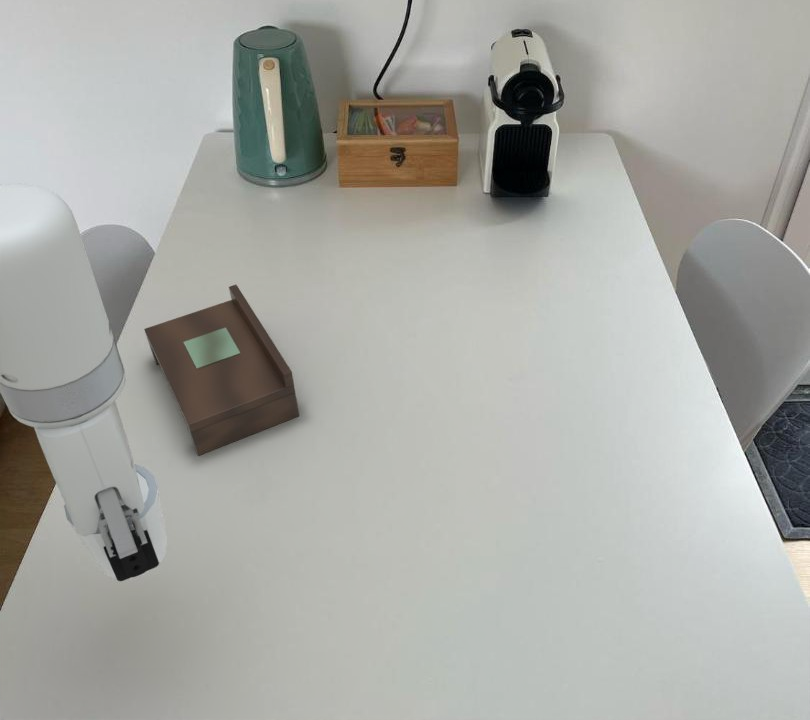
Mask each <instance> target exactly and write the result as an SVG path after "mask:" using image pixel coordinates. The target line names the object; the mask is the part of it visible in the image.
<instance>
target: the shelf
mask: <svg viewBox="0 0 810 720" xmlns="http://www.w3.org/2000/svg"><path fill="white" fill-rule="evenodd" d="M228 291H229V294H230V295H229V296H230V300H226V301H224V302H222V303H218V304H215V305H212V306H209V307H205V308H203V309H199V310H197V311H193V312H190V313H187V314H185V315H182V316H179V317H176V318H173V319H170V320H166V321H164V322H161V323H157V324H155V325H152V326H149V327H146V328H144V333H145V336H146V339H147V342H148V345H149V349H150V351H151V355H152V357H153V360H154V363H155V365H159V367H160V369H161V371H162V373H163V375H164V378H165V379H166V382H167V384H168V387H169V388H170V390H171V393H172V395H173V397H174V399H175V402H176V403H177V406H178V408H179V410H180V412H181V415H182V416H183V419H184V421H185V423H186V425H187V429H188V432H189V435H190V437H191V441H192V444H193V447H194V450H195V452H196V455H197V456H202V455H203V454H206V453H208V452H211V451H214V450H217V449H219V448H221V447H224V446H226V445H229V444H232V443H234V442H237V441H239V440H242V439H245V438H247V437H249V436H252V435H255V434H258V433H260V432H262V431H265V430H267V429H269V428H272V427H275V426H278V425H280V424H283V423H285V422H287V421H290V420H293V419H295V418H298V417H300V411H299V406H298V400H297V399H298V398H297V394H296V388H295V382H294V376H293V371H292V370H291V368H290V366H289V365H288V364H287V362H286V360H285V359H284V357H283V356H282V354H281V353H280V351H279V349H278V348H277V346H276V344H275V343H274V342H273V339H272V338H271V336H270V335H269V333H268V331H267V330H266V329H265V327H264V325H263V324H262V321H260V319H259V318H258V316H257V315H256V313H255V311H254V310H253V308H252V306H251V305H250V303H249V302H248V300H247V299H246V298H245V296H244V294H243V292H242V291H241V289H240V288H239V286H238V284H233V285H230V286H228Z"/></svg>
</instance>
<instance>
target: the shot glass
mask: <svg viewBox="0 0 810 720" xmlns="http://www.w3.org/2000/svg"><path fill="white" fill-rule="evenodd" d="M134 465H135V469H136V472H137V476H138V481H139V485H140V489H141V493H142V497H143V502H144V506H145V507H144V509H143V511H142V513H141V514H140V515H139V514H138V513H137V514H138V517H139V520H140V523H141V525H142V528H143V531H145V530H147V531H148V534H149V537H150V539H151V542H152V545H153V548H154V550H155V553H156V556H157V558H158V561H159V564H160V563H161V562H162V560H163V559H164V557H165V556H166V553H167V548H168V543H169V542H168V537H167V531H166V526H165V525H166V524H165V520H164V514H163V509H162V503H161V498H160V492H159V487H158V484H157V481H156V478H155V475H154V474H153V473H151V472H150V471H149V470H148V469H147V468H146V467H145V466H142V465H139V464H135V463H134ZM119 501H120V504H121V506H122V505H125V504H123V501H121V500H119ZM63 508H64V513H65V518H66V520H67V522H68V524H69V525H70V526H71V528H72V529H73V531H74V533H75V534H76V535H77V537H78V539H79V540H80V542H81V543H82V545H83V546H84V548H85V549H86V551H87V552H88V554H89V555H90V557H91V558H92V560H93V562H94V563H95V564H96V566H97V567H98V569H99V570H100V571H101V572H102V573H103V574H104V575H105V576H106V577H107V578H108V577H109V578H111V579H115V580H117V578H116V576H115V574H114V572H113V569H112V567H111V565H110V562H109V560H108V558H107V556H106V553H105V551H104V546H105V543H104V541H103V538H102V536H101V533H100V530H99V528H97V531H96V533H93V534H90V535H87V536H81V535H79V534H78V533H77V532H76V530H75V527H74V524H73V522H72V519H71V517H70V515H69V512H68V510H67V507H66V505H65V504H64V505H63ZM100 512H101V513H103V511H102V508H101V509H100ZM126 520H127V523H128V526H129V528H130V531H132V530H135V528H134V526H133V523H132V520H131V518H130V517H128V518H126ZM107 527H108V525H107ZM108 530H109V527H108ZM135 532H136V531H135ZM109 533H110V530H109ZM110 535H111V533H110ZM111 538H112V536H111ZM154 569H155V568H153V569H151V570H148V571H146V572H145V573H143V574H141V575H139V576H136V577H131V578H129V579H128V580H134V579H136V578H139V577H143V576H145V575H147V574H148V573H150V572H151V571H153V570H154Z"/></svg>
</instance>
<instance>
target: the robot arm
mask: <svg viewBox="0 0 810 720" xmlns="http://www.w3.org/2000/svg"><path fill="white" fill-rule="evenodd" d="M126 380H127V375H126V370H125V367H124V364H123V361H122V358H121V355H120V351H119V349H118V345H117V342H116V340H115V337H114V334H113V330H112V327H111V324H110V321H109V318H108V315H107V311H106V309H105V306H104V303H103V300H102V296H101V293H100V291H99V287H98V284H97V281H96V278H95V274H94V272H93V269H92V266H91V262H90V259H89V257H88V254H87V251H86V248H85V245H84V241H83V238H82V235H81V232H80V229H79V226H78V223H77V221H76V218H75V216H74V213H73V210H72V209H71V207H70V206H69V204H68V203H67V201H65V200H64V199H63V198H62V197H61V196H60V195H59V194H58V193H55V192H54V191H52V190H50V189H48V188H46V187H42V186H39V185H35V184H30V183H3V184H0V394H1V397H2V399H3V401H4V403H5V405H6V407H7V409H8V411H9V414H11V416H12V417H13V418H14V419H15V420H16V421H18V422H19V423H21V424H23V425H25V426H28V427H31V428H33V429H34V431H35V434H36V437H37V440H38V443H39V445H40V448H41V450H42V453H43V455H44V458H45V460H46V463H47V465H48V467H49V470H50V472H51V475H52V477H53V480H54V481H55V484H56V487H57V488H58V490H59V493H60V495H61V498H62V500H63V502H64V505H66V507H67V510H68V512H69V515H70V517H71V519H72V522H73V524H74V527H75V530H76V532H77V533H78V534H79V535H81V536H87V535H90V534H93V533H96V531H97V528H99V530H100V533H101V536H102V538H103V541H104V543H105V546H104V551H105V553H106V556H107V558H108V560H109V562H110V565H111V567H112V569H113V572H114V574H115V576H116V578H117V579H116V580H117V581H118V582H124V581H127V580H130V579H129V578H131V577H136V576H139V575H141V574H143V573H145V572H146V571H148V570H151V569H152V570H154V569H155V568H157V567H158V566H159V565H160V563H159V561H158V558H157V556H156V553H155V550H154V548H153V545H152V542H151V539H150V537H149V534H148V531H147V530H145V531H143V528H142V525H141V523H140V520H139V517H138V514H139V515H140V514H141V513H142V511H143V509H144V507H145V506H144V502H143V497H142V493H141V489H140V485H139V481H138V476H137V472H136V469H135V465H134V464H135V462H134V457H133V453H132V450H131V446H130V444H129V443H130V442H129V440H128V436H127V432H126V430H125V427H124V424H123V421H122V418H121V414H120V411H119V408H118V405H117V402H116V401H117V400H118V398H119V397H120V395H121V394H122V392H123V390H124V388H125V386H126ZM119 500H121V501H123V504H125V505H122V506H121V504H120V501H119ZM101 508H102V511H103V513H101V512H100V509H101ZM137 513H138V514H137ZM128 517H130V518H131V520H132V523H133V526H134V528H135V530H132V531H130V528H129V526H128V523H127V520H126V518H128ZM107 525H108V527H109V530H110V533H111V535H110V533H109V530H108V527H107ZM135 531H136V532H135ZM76 532H75V533H76ZM111 536H112V538H111ZM153 568H154V569H153ZM152 570H151V571H152Z"/></svg>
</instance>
